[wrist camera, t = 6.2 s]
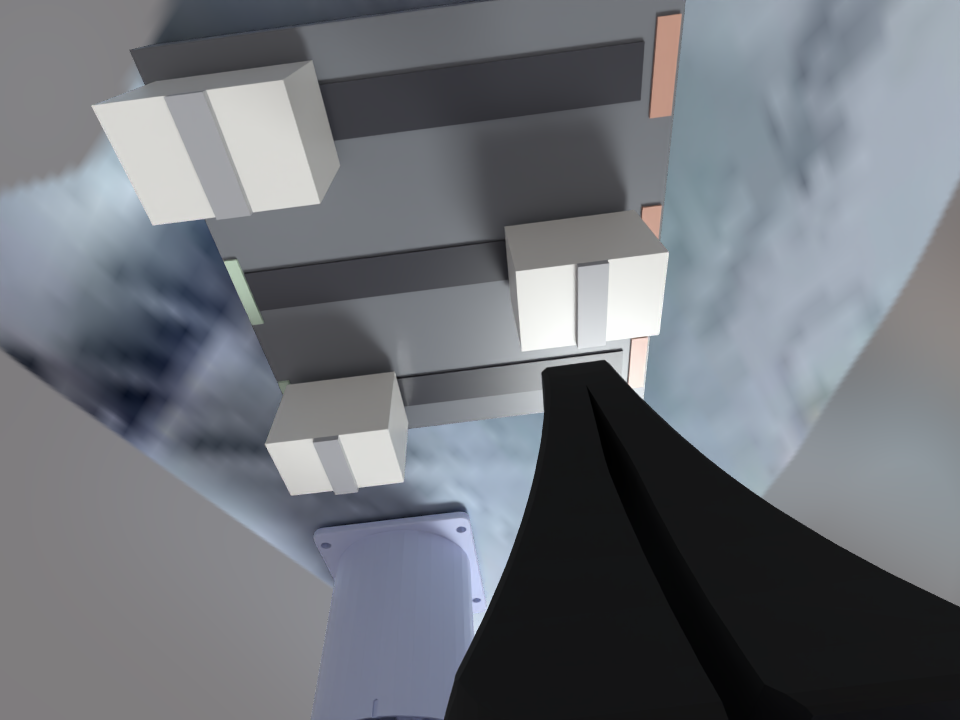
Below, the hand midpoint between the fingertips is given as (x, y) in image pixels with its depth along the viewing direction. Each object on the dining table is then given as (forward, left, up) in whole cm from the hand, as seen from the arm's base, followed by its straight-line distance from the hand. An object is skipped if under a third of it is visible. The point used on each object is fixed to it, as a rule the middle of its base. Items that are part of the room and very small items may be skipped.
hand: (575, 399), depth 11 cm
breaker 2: (-5, +7, -7) cm, 11 cm away
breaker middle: (0, -1, -7) cm, 7 cm away
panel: (0, +3, -9) cm, 9 cm away
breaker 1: (+5, +7, -7) cm, 11 cm away
